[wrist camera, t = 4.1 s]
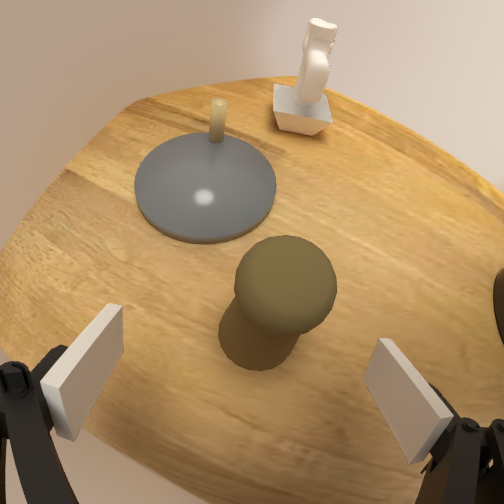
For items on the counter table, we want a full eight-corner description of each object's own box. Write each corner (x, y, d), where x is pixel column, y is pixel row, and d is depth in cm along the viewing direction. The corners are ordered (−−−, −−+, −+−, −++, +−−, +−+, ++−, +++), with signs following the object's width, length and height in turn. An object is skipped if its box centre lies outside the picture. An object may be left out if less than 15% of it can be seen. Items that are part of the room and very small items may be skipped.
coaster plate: (293, 170, 33) (308, 127, 28) (234, 270, 26) (243, 228, 20) (186, 127, 34) (186, 84, 29) (108, 204, 27) (93, 158, 22)
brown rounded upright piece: (203, 343, 22) (201, 285, 13) (244, 284, 25) (269, 197, 16) (271, 385, 21) (324, 359, 12) (307, 321, 24) (370, 256, 15)
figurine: (267, 139, 35) (294, 25, 22) (269, 101, 40) (290, 7, 27) (325, 150, 36) (366, 45, 23) (318, 110, 40) (348, 21, 28)
